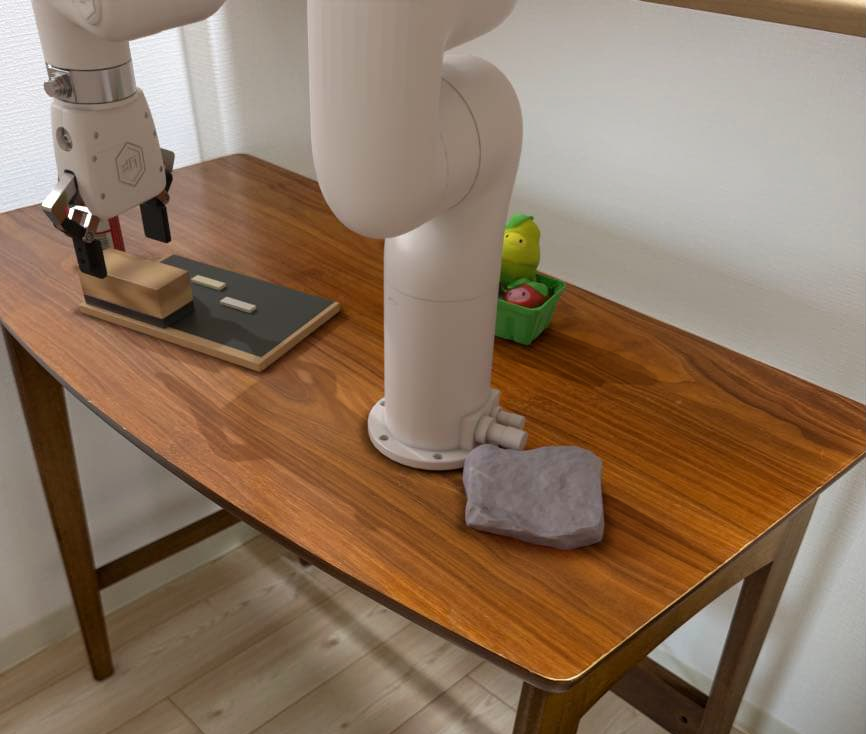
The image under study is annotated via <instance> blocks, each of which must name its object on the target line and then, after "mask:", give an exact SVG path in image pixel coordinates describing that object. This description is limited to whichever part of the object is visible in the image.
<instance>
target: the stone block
mask: <svg viewBox="0 0 866 734" xmlns="http://www.w3.org/2000/svg"><path fill="white" fill-rule="evenodd" d="M602 478H603V461H602V459H601V458H600V456H598V455H596V454H595V453H594V451H592V450H588V449H587V448H585V449H584V448H582V447H579V446H576V445H568V446H567V445H551V446H549V445H546V446H541V447H537V448H532V449H526V450H523V451H516V450H513V449H507V448H505V449H504V448H501V447H499V446H498V447H497V446H494V445H492V444H483V445H480V446H478V447H476V448H475V449H473V450H472V451H471V452H470V453H469V455H468V456H467V457H466V459H465V464H464V467H463V471H462V483H463V486H464V490H465V491H464V492H465V495H466V499H467V501H466V504H465V513H464V516H465V524H466V526H467V527H470V528H472V529H475V530H477V531H483V532H486V533H491V534H495V535H499V536H505V537H509V538H510V537H511V538H513V539H516V540H519V541H522V542H525V543H530V544H532V545H533V544H534V545H538V546H544V547H552V548H555V549H557V550H562V551H571V550H574V549H577V548H581V547H586V546H591V545H594V544H597V543H599V542H601V541H602V540H603V537H604V536H603V535H604V529H605V517H604V515H605V514H604V503H603V502H604V501H603V492H602Z"/></svg>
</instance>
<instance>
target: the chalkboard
mask: <svg viewBox="0 0 866 734" xmlns="http://www.w3.org/2000/svg"><path fill="white" fill-rule="evenodd" d="M155 261H156V262H159V263H163V264H166V265H169V266H173V267H176V268H179V269H183V270H186V271H189V277H190V283H191V289H192V295H193V302H194V308H195V310H194V311H192V312H190V313H189V314H187V315H186V316H184V317H183V318H181V319H180V320H178V321H176V322H175V323H173V324H172V325H170V326H169V327H167V328H166V329H162V328H159V327H156V326H153V325H150V324H147V323H144V322H141V321H138V320H135V319H132V318H129V317H126V316H123V315H120V314H117V313H114V312H111V311H108V310H105V309H102V308H99V307H96V306H93V305H89V304H86V302H85V300H84V301H82V302H81V303H79V304H78V306H79V310H80V313H82V314H85V315H87V316H90V317H94V318H97V319H100V320H102V321H105V322H108V323H112V324H115V325H118V326H121V327H124V328H126V329H130V330H133V331H136V332H139V333H141V334H144V335H148V336H151V337H153V338H157V339H160V340H163V341H165V342H168V343H171V344H174V345H177V346H181V347H182V348H186V349H189V350H192V351H196V352H199V353H201V354H204V355H207V356H210V357H213V358H216V359H219V360H222V361H225V362H229V363H231V364H234V365H238V366H241V367H243V368H246V369H249V370H252V371H255V372H258V373H261V372H263V371H264V370H265V369H267V368H268V367H269V366H270V365H272V364H273V363H275V362H276V360H278V359H279V358H280V357H281V358H282V356H283V355H285V354H286V353H287V352H289V351H290V350H291V349H293V348H294V347H295V346H296V345H298V344H299V343H300V342H302V341H303V340H305V339H306V338H307V337H308V336H309V335H310V334H312V333H313V332H315V331H316V330H317V329H319V328H320V327H321V326H322V325H324V324H325V323H326V322H327V321H329V320H330V319H332V317H334V316H335V315H337V313H339V312H340V311H341V309H340V306H341V305H340V304H341V303H340V302H338V301H334V300H331V299H328V298H324V297H321V296H317V295H313V294H311V293H307V292H305V291H301V290H297V289H293V288H291V287H286V286H284V285H280V284H276V283H273V282H270V281H266V280H264V279H259V278H257V277H252V276H249V275H245V274H243V273H239V272H237V271H236V272H235V271H232V270H229V269H225V268H222V267H219V266H215V265H211V264H208V263H205V262H201V261H198V260H195V259H191V258H187V257H185V256H180V255H177V254H174V253H168V254H166V255H164V256H162V257H160V258H158V259H157V260H155ZM197 275H199V276H203V277H206V278H210V279H213V280H216V281H220V282H223V283H226V287H224V288H223V289H221V290H216V289H213V288H210V287H206V286H203V285H200V284H196V283H193V282H192V281H191V279H192V278H194V277H195V276H197ZM225 297H229V298H232V299H236V300H239V301H242V302H245V303H249V304H252V305H255V306H256V309H255V310H254V311H252V312H251V313H247V312H244V311H241V310H238V309H234V308H231V307H228V306H225V305H221V304H220V301H221V300H222V299H224V298H225Z"/></svg>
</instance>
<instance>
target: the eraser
mask: <svg viewBox="0 0 866 734" xmlns="http://www.w3.org/2000/svg"><path fill="white" fill-rule="evenodd" d="M103 255H104V259H105V264H106V269H107V273H108V274H107V277H106V278H104V279H100V278H97V277H94V276H91V275H88V274H85V273H82V272H81V271H80V269H79V265H78V263H76V265H75V267H76V271H77V274H78V278H79V282H80V286H81V291H82V294H83V298H84V301H85V302H86V304H89V305H93V306H96V307H99V308H102V309H105V310H108V311H111V312H114V313H117V314H120V315H123V316H126V317H129V318H132V319H135V320H138V321H141V322H144V323H147V324H150V325H153V326H156V327H159V328H162V329H166V328H167V327H169V326H170V325H172V324H173V323H175V322H176V321H178V320H180V319H181V318H183V317H184V316H186V315H187V314H189V313H190V312H192V311H194V310H195V308H194V302H193V295H192V289H191V283H190V277H189V271H186V270H183V269H179V268H176V267H173V266H169V265H166V264H163V263H159V262H156V261H157V260H153V259H150V258H145V257H142V256H139V255H135V254H132V253H129V252H127V251H126V252H123V251H119V250H116V249H112V248H107V249H105V250H103Z"/></svg>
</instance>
